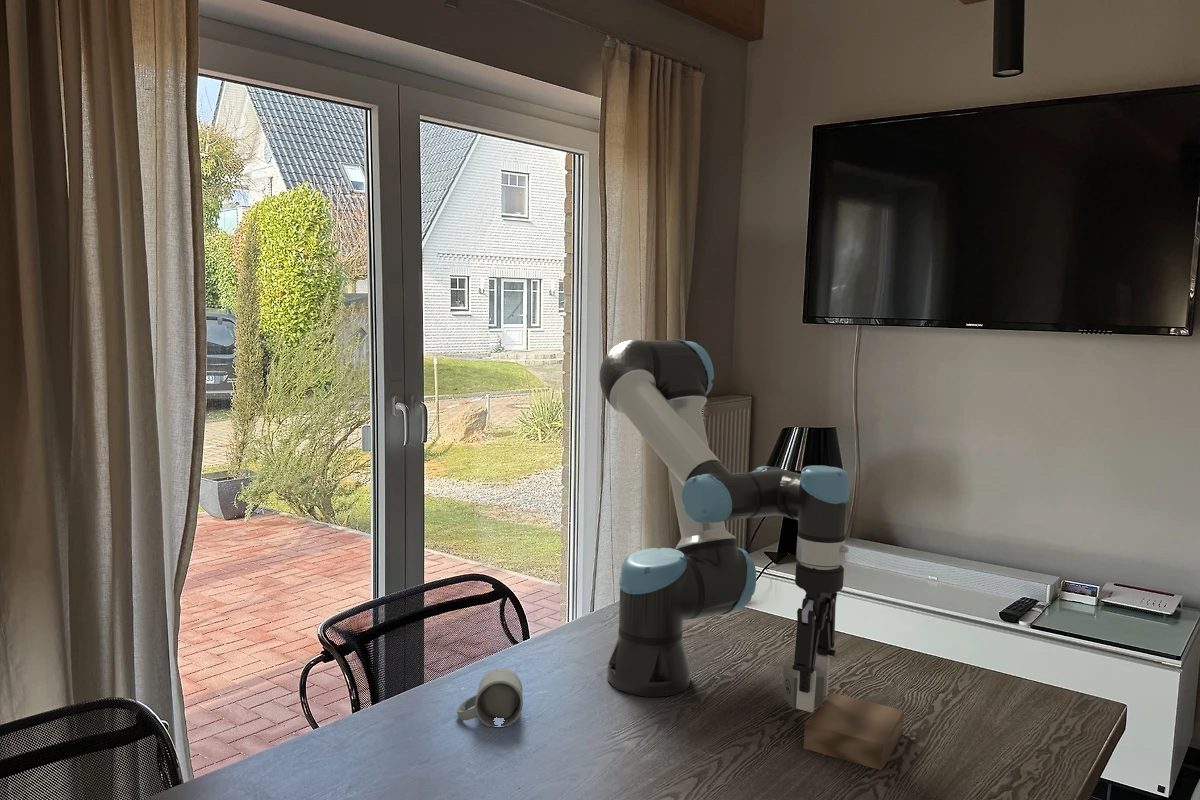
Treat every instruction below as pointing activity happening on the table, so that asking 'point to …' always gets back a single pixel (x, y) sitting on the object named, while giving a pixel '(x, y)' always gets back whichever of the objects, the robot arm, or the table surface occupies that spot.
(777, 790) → the table surface
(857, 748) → the brown flat block
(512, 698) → the ceramic mug
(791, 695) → the dice cube
